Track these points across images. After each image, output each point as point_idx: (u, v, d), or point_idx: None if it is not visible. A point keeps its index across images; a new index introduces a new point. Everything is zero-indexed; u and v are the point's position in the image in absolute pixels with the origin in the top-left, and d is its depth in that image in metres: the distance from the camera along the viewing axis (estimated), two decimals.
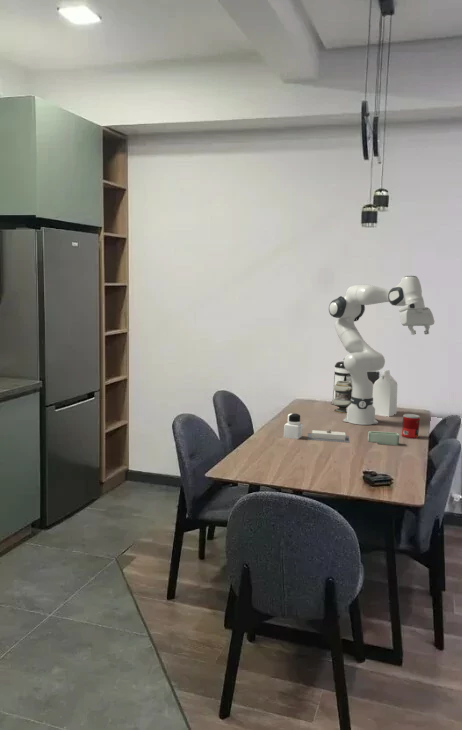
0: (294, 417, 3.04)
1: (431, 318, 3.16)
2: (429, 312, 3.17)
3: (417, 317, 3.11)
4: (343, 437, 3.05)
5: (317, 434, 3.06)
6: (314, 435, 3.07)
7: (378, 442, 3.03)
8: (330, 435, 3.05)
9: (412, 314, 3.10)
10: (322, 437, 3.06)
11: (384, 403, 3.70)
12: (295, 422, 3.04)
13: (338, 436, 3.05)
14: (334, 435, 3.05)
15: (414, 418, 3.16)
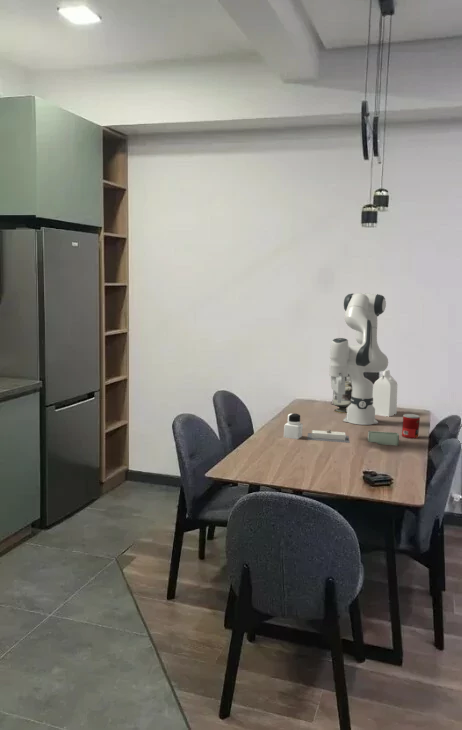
0: (294, 417, 3.04)
1: (337, 387, 2.96)
2: (337, 380, 2.96)
3: (334, 383, 3.06)
4: (343, 437, 3.05)
5: (317, 434, 3.06)
6: (314, 435, 3.07)
7: (378, 442, 3.03)
8: (330, 435, 3.05)
9: (333, 379, 3.08)
10: (322, 437, 3.06)
11: (384, 403, 3.70)
12: (295, 422, 3.04)
13: (338, 436, 3.05)
14: (334, 435, 3.05)
15: (414, 418, 3.16)
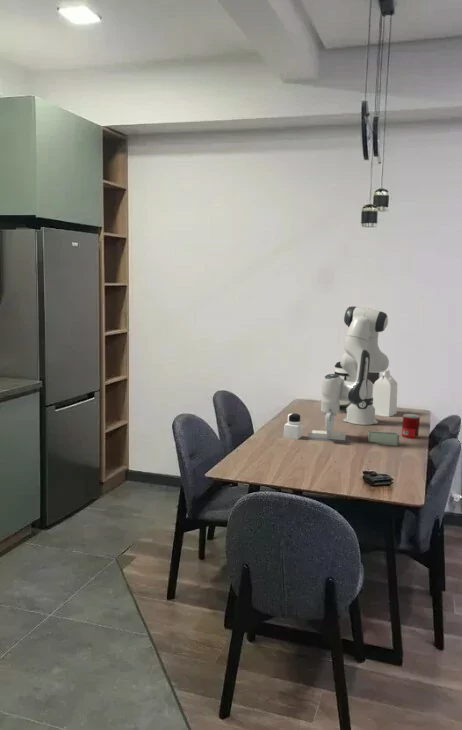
0: (294, 417, 3.04)
1: None
2: (326, 417, 3.00)
3: None
4: (343, 437, 3.05)
5: (317, 434, 3.06)
6: (314, 435, 3.07)
7: (378, 442, 3.03)
8: None
9: None
10: (322, 437, 3.06)
11: (384, 403, 3.70)
12: (295, 422, 3.04)
13: (338, 436, 3.05)
14: (334, 435, 3.05)
15: (414, 418, 3.16)
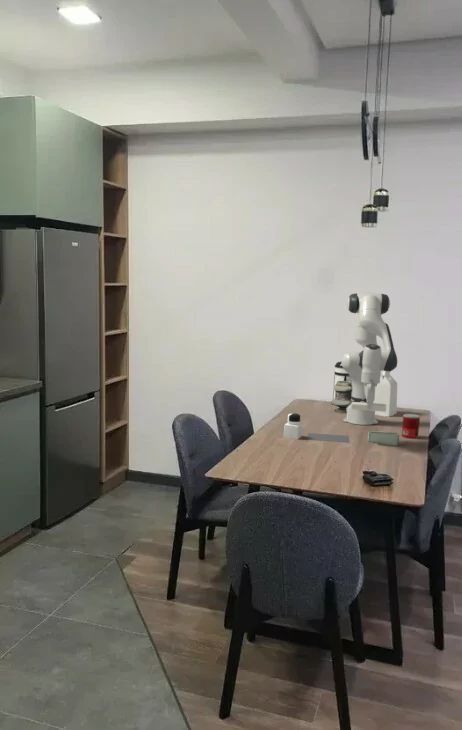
0: (294, 417, 3.04)
1: (366, 394, 2.96)
2: (367, 387, 2.96)
3: (365, 389, 3.05)
4: (384, 408, 3.00)
5: (357, 405, 3.02)
6: (354, 406, 3.02)
7: (378, 442, 3.03)
8: None
9: None
10: (362, 408, 3.02)
11: (384, 403, 3.70)
12: (295, 422, 3.04)
13: (379, 407, 3.00)
14: (375, 406, 3.01)
15: (414, 418, 3.16)
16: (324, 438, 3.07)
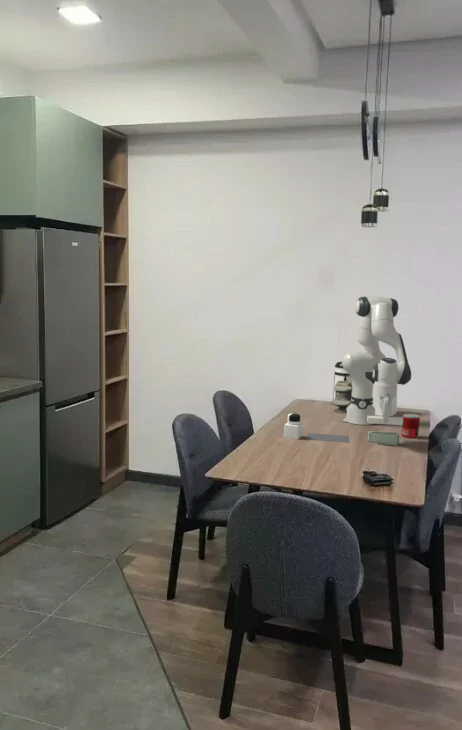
0: (294, 417, 3.04)
1: (383, 408, 2.95)
2: (383, 401, 2.95)
3: (381, 403, 3.05)
4: (400, 422, 3.00)
5: (374, 419, 3.01)
6: (370, 420, 3.02)
7: (378, 442, 3.03)
8: None
9: None
10: (379, 422, 3.01)
11: None
12: (295, 422, 3.04)
13: (395, 421, 3.00)
14: (391, 420, 3.00)
15: (414, 418, 3.16)
16: (324, 438, 3.07)
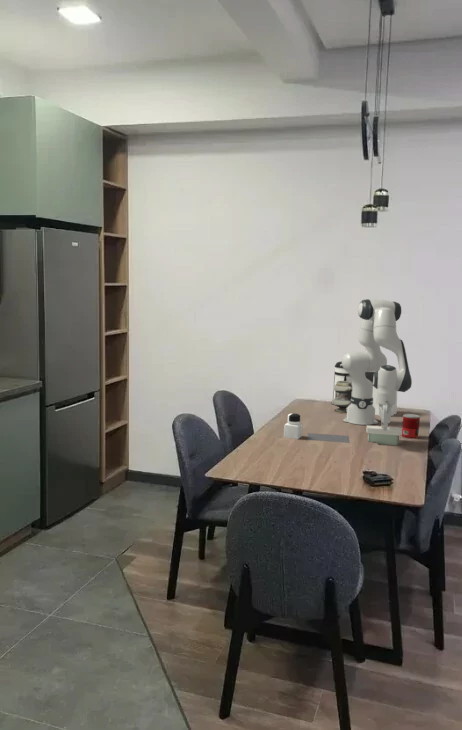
0: (294, 417, 3.04)
1: (382, 415, 2.96)
2: (383, 408, 2.96)
3: (381, 410, 3.05)
4: (399, 432, 3.01)
5: (373, 429, 3.02)
6: (369, 430, 3.03)
7: (378, 442, 3.03)
8: None
9: None
10: (378, 432, 3.02)
11: None
12: (295, 422, 3.04)
13: (394, 431, 3.01)
14: (390, 430, 3.01)
15: (414, 418, 3.16)
16: (324, 438, 3.07)
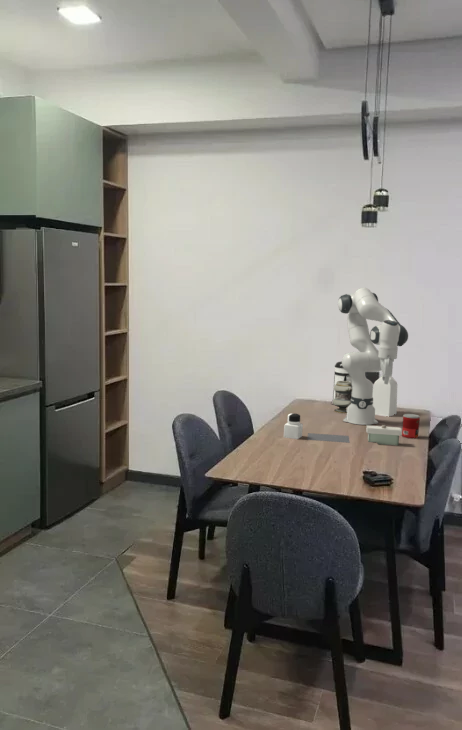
0: (294, 417, 3.04)
1: (384, 369, 3.02)
2: (384, 362, 3.02)
3: (382, 365, 3.11)
4: (399, 432, 3.01)
5: (373, 429, 3.02)
6: (369, 430, 3.03)
7: (378, 442, 3.03)
8: (386, 430, 3.01)
9: (382, 361, 3.14)
10: (378, 432, 3.02)
11: (384, 403, 3.70)
12: (295, 422, 3.04)
13: (394, 431, 3.01)
14: (390, 430, 3.01)
15: (414, 418, 3.16)
16: (324, 438, 3.07)
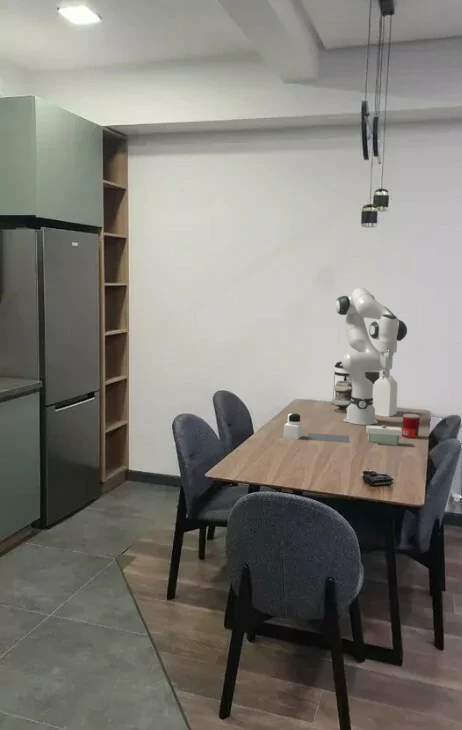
0: (294, 417, 3.04)
1: (384, 362, 3.03)
2: (384, 356, 3.03)
3: (382, 359, 3.12)
4: (399, 432, 3.01)
5: (373, 429, 3.02)
6: (369, 430, 3.03)
7: (378, 442, 3.03)
8: (386, 430, 3.01)
9: (382, 355, 3.15)
10: (378, 432, 3.02)
11: (384, 403, 3.70)
12: (295, 422, 3.04)
13: (394, 431, 3.01)
14: (390, 430, 3.01)
15: (414, 418, 3.16)
16: (324, 438, 3.07)
